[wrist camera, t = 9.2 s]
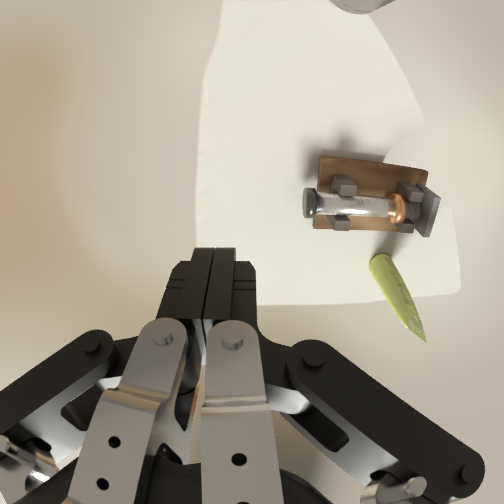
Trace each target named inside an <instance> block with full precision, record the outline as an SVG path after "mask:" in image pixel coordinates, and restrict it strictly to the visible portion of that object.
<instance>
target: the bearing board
mask: <svg viewBox="0 0 504 504" xmlns="http://www.w3.org/2000/svg"><path fill="white" fill-rule="evenodd" d="M427 176H428V172H427V171H425V170H422V169H417V168H411V167H405V166H399V165H393V164H386V163H379V162H371V161H363V160H355V159H345V158H334V157H322V156H320V165H319V175H318V185H317V192H321V193H338V194H339V195H342V196H356V195H368V196H380V197H387V196H388V195H389V194H390V193H400V194H403V195H404V196H405V198H406V199H408V200H409V201H413V202H419V204H420V208H421V211H420V216H419V217H418V219H405V220H404V221H403V222H402V223H390V222H389V221H388V220H387V218H386V217H369V216H349V215H323V214H316V216H315V218H314V219H313V227H314V229H334V230H337V231H349V230H375V231H400V232H401V233H413V230H414V228H415V229H416V230H417V231H418V232H419V233H420V234H421V235H422V237H429V236H430V233H431V230H432V227H433V224H434V221H435V217H436V214H437V210H438V207H439V203H440V200H441V198H440V197H439V196H438V195H436V194H435V193H434V192H432V191H431V190H429V189H428V188H427V187H425V185H426V181H427Z"/></svg>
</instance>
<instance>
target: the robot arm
mask: <svg viewBox="0 0 504 504" xmlns="http://www.w3.org/2000/svg"><path fill="white" fill-rule="evenodd" d="M330 1H331V2H332V3H334V4H335V5H336V6H338V7H339V8H341V9H343V10H345V11H347V12H351V13H355V14H366V13H370V12H372V11H374V10H375V9H378V8H380V7H382V6H384V5H386V4H389V3H391V2H393V1H395V0H330ZM256 307H257V305H256V271H255V269H254V267H253V266H252V264H251V263H250V261H236V249H235V248H195V249H194V252H193V255H192V258H191V261H180V262H179V263H178V264H177V265H176V266H175V267H174V268H173V270H172V272H171V275H170V278H169V281H168V284H167V286H166V290H165V292H164V295H163V298H162V301H161V304H160V307H159V310H158V313H157V316H156V319H155V320H153V321H151V322H149V323H148V324H146V325H145V326H144V327H143V329H142V330H141V332H140V334H139V336H136V337H132V338H128V339H121V340H116V341H114V340H113V339H112V337H111V335H110V334H109V333H107V332H106V331H103V330H91V331H88V332H86V333H84V334H82V335H81V336H79V337H78V338H76V339H75V340H73V341H72V342H70V343H69V344H67V345H66V346H64V347H63V348H62V349H60V350H59V351H57V352H56V353H54V354H53V355H52V356H50V357H49V358H47V359H46V360H44V361H43V362H41V363H40V364H38V365H37V366H35V367H34V368H33V369H31V370H30V371H28V372H27V373H25V374H24V375H23V376H21V377H20V378H18V379H17V380H16V381H14V382H13V383H11V384H10V385H9V386H7V387H6V388H4V389H3V390H2V391H0V491H1V493H2V495H3V497H4V499H5V501H6V503H7V504H333V503H332V502H330V501H329V500H328V499H327V498H326V497H324V496H323V495H322V494H321V493H320V492H319V491H318V490H317V489H315V487H313V486H312V485H311V484H310V483H309V482H307V481H306V480H304V479H303V478H301V477H299V476H297V475H296V474H293V473H291V472H289V471H286V470H283V469H280V468H279V465H278V458H277V451H276V444H275V436H274V429H273V422H272V416H271V409H273V410H276V411H279V412H280V414H281V415H282V416H283V417H284V418H285V419H286V420H287V421H288V422H289V423H290V424H291V425H292V426H293V427H294V428H295V429H297V430H298V431H299V432H300V433H301V434H302V435H303V436H304V437H305V438H306V439H308V440H309V441H310V442H311V443H312V444H313V445H314V446H315V447H317V448H318V449H319V450H320V451H321V452H322V453H324V454H325V455H326V456H327V457H328V458H330V459H331V460H332V461H333V462H334V463H336V464H337V465H338V466H339V467H340V468H342V469H343V470H344V471H346V472H347V473H348V474H349V475H351V476H352V477H353V478H354V479H356V480H357V481H358V482H360V483H361V484H362V485H364V486H365V488H364V490H363V492H362V494H361V497H360V504H449V503H451V502H454V501H458V500H460V499H463V498H466V497H469V496H470V495H472V494H473V493H474V492H475V491H476V490H477V489H478V488H479V486H480V485H481V483H482V481H483V478H484V474H485V465H484V461H483V459H482V457H481V456H480V454H478V453H477V452H475V451H474V450H473V449H471V448H470V447H468V446H467V445H465V444H463V443H462V442H461V441H459V440H458V439H456V438H455V437H454V436H452V435H451V434H449V433H448V432H446V431H445V430H444V429H442V428H441V427H439V426H438V425H436V424H435V423H434V422H432V421H431V420H429V419H428V418H427V417H425V416H424V415H422V414H421V413H419V412H418V411H417V410H415V409H414V408H412V407H411V406H410V405H409V404H407V403H406V402H404V401H403V400H402V399H400V398H399V397H397V396H396V395H395V394H393V393H392V392H391V391H389V390H388V389H387V388H385V387H384V386H383V385H381V384H380V383H379V382H377V381H376V380H375V379H373V378H372V377H371V376H369V375H368V374H367V373H365V372H364V371H363V370H361V369H360V368H359V367H357V366H356V365H355V364H353V363H352V362H351V361H349V360H348V359H347V358H346V357H344V356H343V355H342V354H340V353H339V352H338V351H336V350H335V349H334V348H333V347H331V346H330V345H328V344H327V343H325V342H322V341H319V340H311V339H310V340H304V341H300V342H298V343H296V344H294V345H293V346H292V347H289V346H285V345H281V344H277V343H274V342H272V341H270V340H268V339H267V338H265V337H264V336H263V335H262V334H261V332H260V331H259V329H258V326H257V308H256ZM201 365H206V369H205V370H206V371H205V403H204V405H203V406H202V411H201V463H197V464H189V459H190V452H191V441H190V432H191V426H192V421H193V416H194V412H195V407H196V401H197V397H198V392H199V387H200V380H199V377H200V370H201ZM93 384H94V385H93ZM92 385H93V386H92ZM91 386H92V387H91ZM89 387H90V388H89ZM88 388H89V389H88ZM86 389H88V390H86ZM85 390H86V391H85ZM84 391H85V392H84ZM82 392H83V393H82ZM81 393H82V394H81ZM80 394H81V395H80ZM78 395H79V396H78ZM77 396H78V397H77ZM75 397H76V398H75ZM74 398H75V399H74ZM73 399H74V400H73ZM71 400H72V401H71ZM82 445H83V446H82ZM81 446H82V449H81V452H80V455H79V457H77V458H76V459H75V460H73V461H72V462H71V463H69V464H68V465H67V466H65V467H64V468H63V469H61V470H59V468H58V467H57V466H56V463H58V462H59V461H61V460H62V459H64V458H65V457H67V456H68V455H69V454H71V453H72V452H74V451H75V450H77V449H78V448H79V447H81Z"/></svg>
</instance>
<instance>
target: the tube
mask: <svg viewBox="0 0 504 504" xmlns="http://www.w3.org/2000/svg"><path fill="white" fill-rule="evenodd" d="M369 269H370V271H371V273H372V275H373V277H374V279H375V281H376V282H377V284H378V286H379V288H380V289H381V291H382V293H383V294H384V296H385V298H386V299H387V301H388V303H389V304H390V305H391V307H392V309H393V310H394V312H395V313H396V315H397V316H398V318H399V319H400V321H401V322H402V323H403V325H404V326H405V327H406V328H407V329H409V331H411V332H412V333H413V334H414V335H416V336H417V337H418V338H420V340H422V341H423V342H424V343H426V344H427V342H426V338H425V334H424V330H423V327H422V323H421V320H420V318H419V315H418V313H417V310H416V307H415V305H414V302H413V300H412V298H411V295H410V293H409V291H408V289H407V287H406V285H405V283H404V281H403V279H402V277H401V275H400V274H399V272H398V270H397V268H396V266H395V265H394V263H393V261H392V260H391V258H390V257H389V256H388V255H387V254H379V255H376V256H375V257H374V258H373V259H372V260H371V261H370V264H369Z"/></svg>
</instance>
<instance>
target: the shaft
mask: <svg viewBox="0 0 504 504" xmlns="http://www.w3.org/2000/svg"><path fill="white" fill-rule="evenodd" d="M420 211H421V208H420V204H419V202H413V201H409V200H408V199H406V198H405V196H404V195H403V194H400V193H390V194H389V195H388V196H387V197H380V196H368V195H356V196H342V195H339V194H338V193H321V192H316V190H315V188H305V189H304V192H303V215H304V217H305V218H315V216H316V214H323V215H349V216H369V217H386V218H387V220H388V221H389V222H390V223H402V222H403V221H404V220H405V219H418V217H419V216H420Z"/></svg>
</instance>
